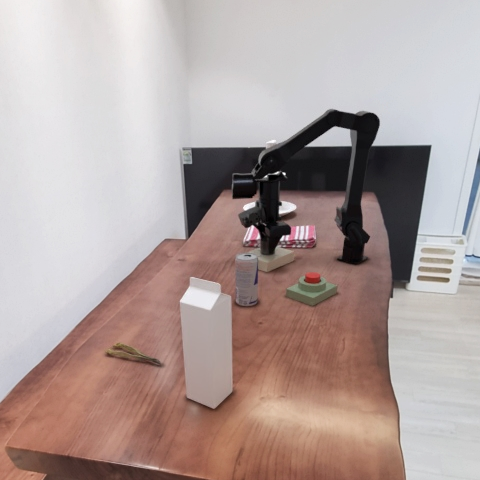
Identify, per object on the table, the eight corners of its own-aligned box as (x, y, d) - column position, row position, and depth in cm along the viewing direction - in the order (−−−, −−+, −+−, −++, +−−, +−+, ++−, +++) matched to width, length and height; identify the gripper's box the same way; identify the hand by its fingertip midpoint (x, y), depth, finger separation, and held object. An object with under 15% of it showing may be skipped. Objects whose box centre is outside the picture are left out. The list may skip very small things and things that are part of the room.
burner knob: (258, 251, 138) (258, 237, 136) (272, 249, 139) (272, 235, 137) (263, 256, 134) (263, 241, 132) (277, 254, 135) (278, 239, 133)
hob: (267, 253, 145) (268, 243, 143) (293, 260, 138) (294, 250, 136) (241, 263, 138) (241, 253, 137) (266, 272, 131) (267, 261, 130)
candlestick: (239, 225, 173) (239, 145, 159) (245, 208, 194) (245, 136, 181) (296, 225, 169) (300, 144, 156) (295, 208, 190) (299, 134, 177)
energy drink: (259, 298, 116) (260, 253, 111) (254, 308, 112) (255, 261, 106) (238, 296, 118) (238, 251, 112) (233, 305, 114) (232, 259, 108)
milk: (205, 381, 86) (200, 270, 76) (233, 392, 83) (231, 276, 73) (185, 398, 82) (177, 282, 72) (214, 410, 79) (209, 290, 69)
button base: (310, 284, 122) (311, 270, 120) (336, 293, 117) (338, 278, 115) (285, 296, 117) (286, 281, 115) (312, 306, 111) (313, 290, 109)
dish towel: (316, 248, 146) (316, 237, 145) (242, 247, 151) (242, 236, 150) (315, 232, 161) (315, 222, 160) (247, 231, 166) (247, 221, 164)
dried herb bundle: (157, 368, 91) (156, 360, 90) (104, 357, 97) (102, 349, 96) (168, 358, 94) (167, 349, 93) (116, 348, 100) (114, 339, 99)
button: (310, 277, 117) (311, 271, 116) (322, 281, 115) (323, 274, 114) (301, 281, 115) (302, 275, 114) (314, 285, 113) (314, 279, 112)
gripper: (231, 193, 136) (231, 244, 143) (252, 208, 120) (252, 265, 127) (267, 189, 138) (266, 240, 145) (293, 204, 122) (290, 260, 129)
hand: (267, 251), depth 136 cm, fingers closed on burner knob, 4 cm apart
